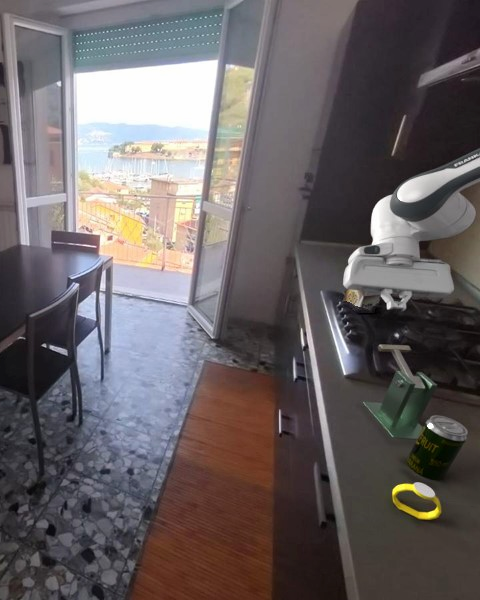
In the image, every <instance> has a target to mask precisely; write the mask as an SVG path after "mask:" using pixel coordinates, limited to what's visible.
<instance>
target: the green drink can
mask: <svg viewBox="0 0 480 600" xmlns="http://www.w3.org/2000/svg"><path fill="white" fill-rule="evenodd" d="M422 427H423V429H422V431H421V433H420V435H419V437H418V439H417V440H416V439H415V440H416V441H415V442H414V444H413V446H412V449H411V450H410V452H409V454H408V456H407V458H406V465H407V466H408V467H409V469H410V470H411V471H413V472H414V473H415V474H417V475H418V476H420V477H422V478H424V479H426V480H427V479H428V480H430V481H437V482H438V481H442V480H443V479H444V478H445V476H446V474H447V473H448V472H449V469H450V468H451V467H452V465H453V463H454V461H455V459H456V457H457V456H458V454H459V452H461V449H462V447H463V446H464V444H465V443H466V441H467V439H468V433H469V432H468V429H467V428H466V426H464V425H463V424H462V423H460V422H459V421H456V420H454V419H453V418H450V417H447V416H443V415H436V414H435V415H431V416H430V417H429V418H428V419H427V420H426V421H425V423H424V425H423V426H422Z"/></svg>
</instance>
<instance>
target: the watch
mask: <svg viewBox="0 0 480 600" xmlns="http://www.w3.org/2000/svg"><path fill="white" fill-rule="evenodd" d="M407 491H409V492H413V493H415V494H416V495H417V496H419V497H420V498H421V499H424V500H428V501H432V502H433V503H434V505H436V508H435V509H434V510H432V511H428V512H425V511H418V510H416V509H414V508H412V507H410V506H407V505H406V504H404V503H401V502H400V500H399V499H398V498H397V495H398V494H400V493H401V492H407ZM392 501H393V502H392V503H393V504H394V505H395V507H396V508H397V509H398V510H401V511H403V512H404V513H406V514H409V515H411V516H412V517H415V518H417V519H418V520H425V521H431V520H435V519H438V518H439V517H440V515H441V514H442V505H441V502H440V499H439V497H437V496H436V493H435V491H434V490H433V488H431V487H430V486H428V484H425V483H422V482H418V481H417V482H414V483H401V484H398V485H396V486H394V488H393V489H392Z"/></svg>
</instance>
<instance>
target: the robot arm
mask: <svg viewBox="0 0 480 600" xmlns="http://www.w3.org/2000/svg"><path fill="white" fill-rule="evenodd" d="M478 183H480V147H479V148H477V149H475V150H473V151H471V152H469V153H467V154H465V155H462V156H461V157H458V158H456V159H454V160H452V161H450V162H448V163H445V164H444V165H441V166H438V167H436V168H433V169H430V170H427V171H424V172H421V173H418V174H416V175H414V176H411V177H409V178H408V179H406V180H404V181H403V182H401V183H400V184H399V185H398V186H397V188H396V189H394V192H393V193H392V194H389V195H386V196H385V197H383V198H381V199H380V200H379V201H378V202H377V203H376V204H375V206H374V207H373V209H372V213H371V217H370V218H371V220H370V235H371V237H372V243H371V244H369V245H364V246H363V245H362V246H359V247H358V248H357V249H356V250H354V251H353V252H352V253H351V254H350V255H349V257H348V259H347V264H348V265H347V266H346V267H345V269H344V273H343V279H342V285H343V286H344V288H345V289H351V290H361V291H371V292H381V298H382V300H383V301H384V302H385V303H386V310H388V311H396V312H405V311H406V310H407V303H408V301H409V300H410V299H411V298H412V297H423V298H433V299H444V298H446V297H448V296H449V295H451V294H452V293H454V291H455V285H454V281H453V276H452V274H451V273H452V272H451V266H450V264H448V263H447V262H445V261H443V260H441V259H438V258H436V259H430V258H424V257H423V258H422V257H421V254H420V242H430V241H437V240H445V239H449V238H454V237H456V236H458V235H461V234H462V233H464V232H466V231H467V230H468V229H469V228H471V226H472V225H473V224H474V222H475V220H476V218H477V209H476V207H475V206H474V205H473V204H472V203H471V202H470V200H469V199H467V198H466V197H465V196H464V195H463V194H461V193H460V192H461V191H463V190H464V189H467V188H469V187H471V186H473V185H475V184H478ZM392 295H399V299H401V300H399V301H398V300H394V298H393V297H392Z"/></svg>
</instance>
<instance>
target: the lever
mask: <svg viewBox="0 0 480 600" xmlns="http://www.w3.org/2000/svg"><path fill="white" fill-rule="evenodd" d="M376 348H377V349H378V352H386V353H391V354H392V356H393V358H394V360H395V362H396V363H397V366H398V367H399V370H400V371H402V372H403V373H404V374H405V375H406V376H407V377H408V378H410V379H411V380H412V381H413V382H414V383H415V384H416V385H415V387H414V389H413V391H412V393H420V392H421V391H423V390H424V389H426V388H425V386H424V384H423V383H422V381H421V379H420V377H419V376H415V375H413V372H412V371H411V369H410V367H409V366H408V364H407V362H406V360H405V358H404V356H403V355H402V353H405V354H407V353H409V352H411V351H412V349H411V347H410V345H406V344H405V345H403V344H381V343H380V344H378V346H376Z"/></svg>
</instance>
